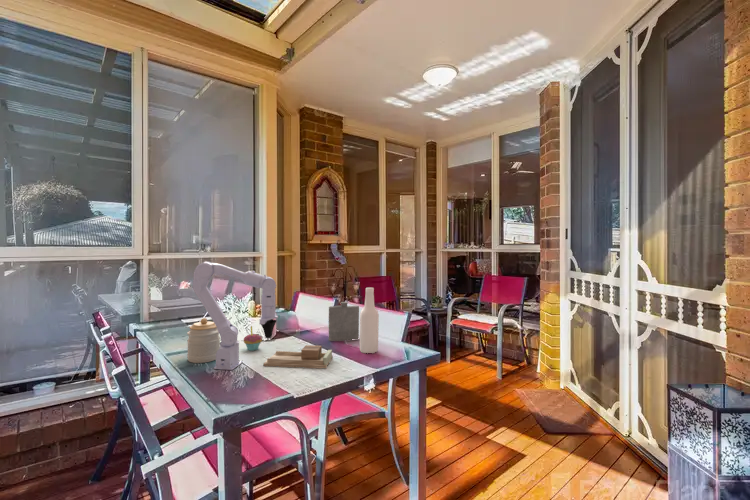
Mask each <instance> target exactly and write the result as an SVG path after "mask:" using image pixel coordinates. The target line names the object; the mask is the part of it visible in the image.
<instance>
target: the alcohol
mask: <svg viewBox="0 0 750 500" xmlns="http://www.w3.org/2000/svg"><path fill="white" fill-rule="evenodd" d="M374 290H375V288H374V287H370V286H369V287H366V288H365V297H364V306H363V307H362V309H361V311H360V312H359V350H360V352H361V353H362V354H366V353H367V355H368V353H372V354H376V353H378V351H379V324H380V323H379V322H380V321H379V317H380V314H379V311H378V310H377V308H376V306H375V293H374V292H375V291H374ZM375 352H376V353H375Z"/></svg>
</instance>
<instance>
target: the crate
mask: <svg viewBox="0 0 750 500" xmlns="http://www.w3.org/2000/svg"><path fill="white" fill-rule="evenodd" d="M322 347H323V346H322V345H314V344H313V345H312V344H311V345H309V344H306V345H305V346H304V347H302V349H301V351H300V352H301V359H302V360H320V359H321V357H322V353H323V351H322V349H323V348H322Z"/></svg>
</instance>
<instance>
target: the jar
mask: <svg viewBox="0 0 750 500" xmlns="http://www.w3.org/2000/svg"><path fill="white" fill-rule="evenodd" d="M189 329H190V330H189V331H187V333H186V334H187V335H188V337H187V338H188V339H187V357H186V358H187V361H188V362H190V363H194V364H202V363H210V362H213V361H216V352H217V351H218V350H219V348H220V342H221V337H220V334H219V332H218V329H217V326H216V325H215V323H214V322H213V321H209V320H208V319H207V318H206V317H203V318H201V319H200V321H199V322H194V323H193V324H192V325H190V326H189Z"/></svg>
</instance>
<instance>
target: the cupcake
mask: <svg viewBox="0 0 750 500" xmlns="http://www.w3.org/2000/svg"><path fill="white" fill-rule="evenodd" d="M262 341H263V337H262V336H261V335H260V334H257V333H253V326H252V325H250V334H247V335H245V337H244V338H243V343H244V344H245V346H246V348H247V349H246V350H247V351H250V352H251V351H253V352H254V351H257V350H258V349H259V347H260V344H261V343H262Z"/></svg>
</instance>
